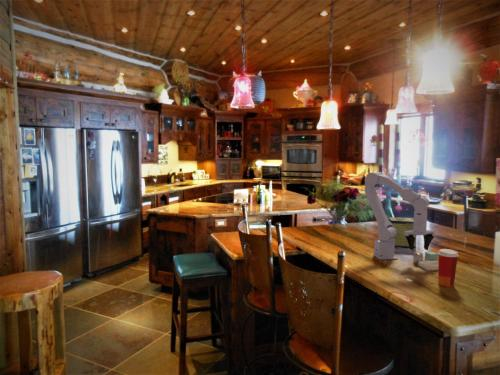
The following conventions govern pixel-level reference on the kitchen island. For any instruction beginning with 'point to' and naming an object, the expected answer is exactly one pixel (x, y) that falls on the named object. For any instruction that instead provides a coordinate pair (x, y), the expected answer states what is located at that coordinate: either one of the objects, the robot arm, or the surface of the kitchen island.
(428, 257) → the teal block
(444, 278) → the paper cup
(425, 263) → the parts tray
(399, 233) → the protein box
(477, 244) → the kitchen island surface
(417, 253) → the silver metal cylinder
